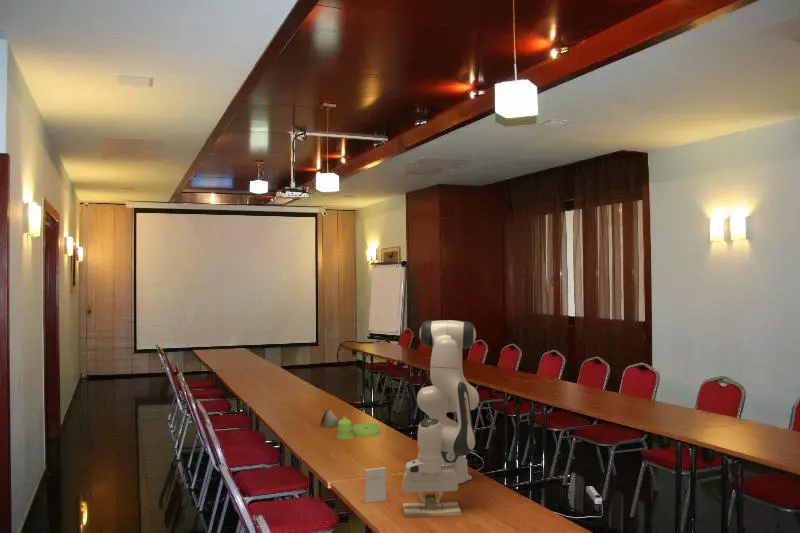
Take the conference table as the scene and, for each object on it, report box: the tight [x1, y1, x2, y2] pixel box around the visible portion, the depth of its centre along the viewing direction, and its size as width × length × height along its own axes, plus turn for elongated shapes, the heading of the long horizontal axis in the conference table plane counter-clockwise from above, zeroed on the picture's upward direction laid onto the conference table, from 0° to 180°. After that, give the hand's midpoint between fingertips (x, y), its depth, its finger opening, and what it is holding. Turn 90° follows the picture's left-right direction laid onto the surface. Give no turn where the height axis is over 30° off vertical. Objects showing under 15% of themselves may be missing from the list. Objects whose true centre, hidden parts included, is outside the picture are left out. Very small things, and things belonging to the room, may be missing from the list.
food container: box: [335, 416, 381, 440], centre depth 349 cm, size 25×15×13 cm, turn 123°
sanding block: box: [424, 493, 436, 510], centre depth 239 cm, size 5×4×4 cm
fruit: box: [320, 408, 340, 429], centre depth 369 cm, size 10×9×12 cm
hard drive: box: [364, 466, 387, 504], centre depth 250 cm, size 2×8×12 cm, turn 112°
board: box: [402, 501, 462, 518], centre depth 239 cm, size 11×20×1 cm, turn 93°
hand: (430, 503), depth 239 cm, fingers closed on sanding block, 3 cm apart
